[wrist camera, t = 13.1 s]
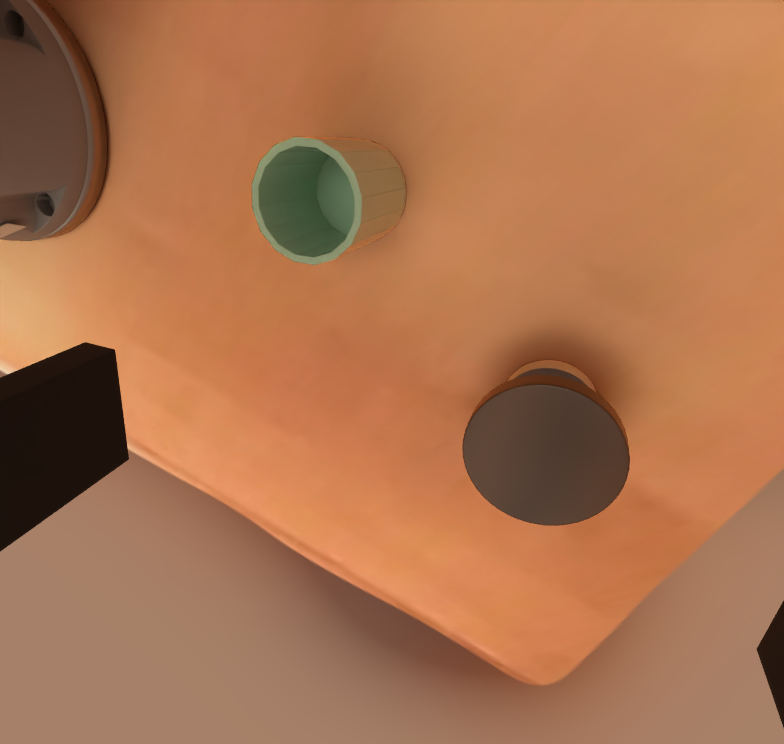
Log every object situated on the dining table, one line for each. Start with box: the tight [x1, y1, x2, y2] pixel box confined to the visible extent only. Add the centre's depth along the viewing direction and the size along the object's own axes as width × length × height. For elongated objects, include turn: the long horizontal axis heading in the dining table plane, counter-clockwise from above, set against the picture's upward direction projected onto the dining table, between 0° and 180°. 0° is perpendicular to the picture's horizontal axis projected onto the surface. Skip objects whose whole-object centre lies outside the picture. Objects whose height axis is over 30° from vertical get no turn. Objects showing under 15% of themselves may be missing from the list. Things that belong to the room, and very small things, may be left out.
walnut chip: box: [463, 375, 630, 525], centre depth 26 cm, size 8×8×1 cm
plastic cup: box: [252, 137, 406, 265], centre depth 27 cm, size 5×5×6 cm
